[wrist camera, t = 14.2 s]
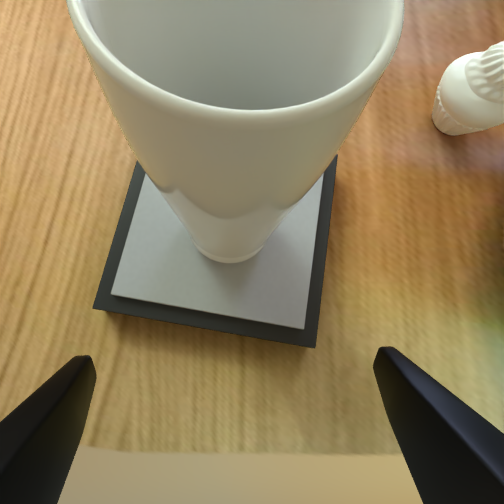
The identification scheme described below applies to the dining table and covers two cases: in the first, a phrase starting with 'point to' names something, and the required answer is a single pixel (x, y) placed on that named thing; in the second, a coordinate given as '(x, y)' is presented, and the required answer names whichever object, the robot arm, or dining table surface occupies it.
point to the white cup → (236, 100)
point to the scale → (219, 270)
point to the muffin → (471, 93)
